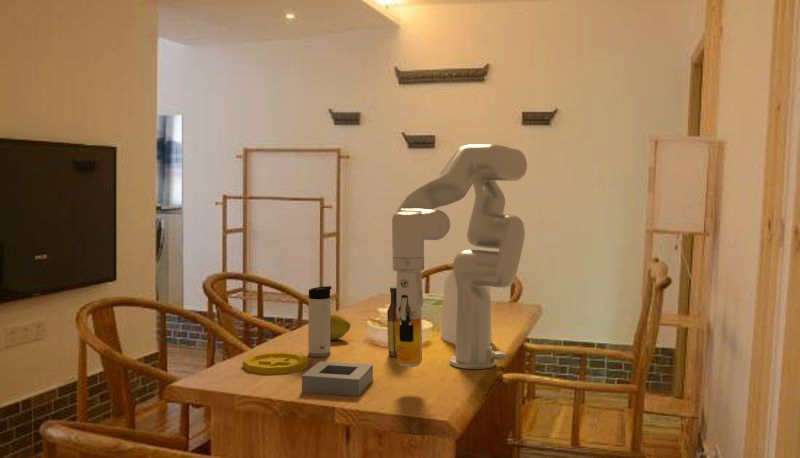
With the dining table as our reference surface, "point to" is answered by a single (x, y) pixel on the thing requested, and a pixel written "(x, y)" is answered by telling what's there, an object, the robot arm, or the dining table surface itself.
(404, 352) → the beer can
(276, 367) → the decorative disc
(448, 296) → the milk
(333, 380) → the socket dock
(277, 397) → the dining table surface
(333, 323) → the lemon
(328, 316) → the travel mug
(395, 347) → the sauce bottle
